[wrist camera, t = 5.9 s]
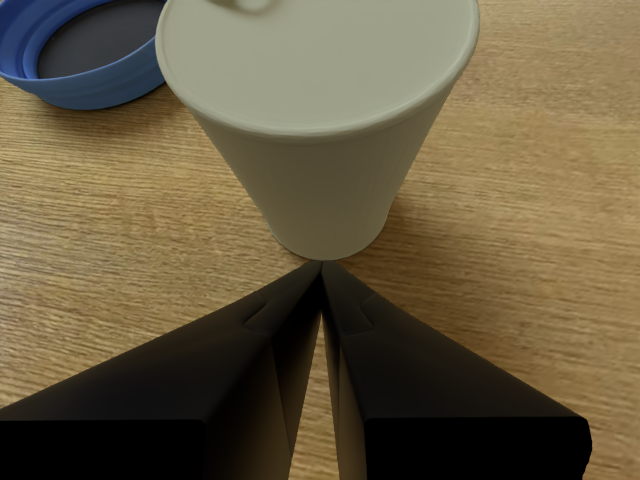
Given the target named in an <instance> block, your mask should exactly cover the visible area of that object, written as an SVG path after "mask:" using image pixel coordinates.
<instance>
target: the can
mask: <svg viewBox="0 0 640 480" xmlns="http://www.w3.org/2000/svg"><path fill="white" fill-rule="evenodd" d="M479 31H480V10H479V6H478V1H477V0H167V2H166V4H165V5H164V8H163V10H162V12H161V15H160V17H159V21H158V25H157V29H156V37H155V48H156V55H157V60H158V64H159V67H160V69H161V72H162V75H163V77H164V79H165V81H166V82H167V84H168V85H169V87H170V89H171V90H172V91H173V93H174V94H175V95H176V96H177V98H178V99H179V100H180V101H181V102H182V103H183V104H184V105H185V106H186V107H187V108H188V109H189V111H190V112H191V114H192V115H193V116H194V118H195V119H196V120H197V122H198V123H199V125H200V126H201V127H202V129H203V130H204V131H205V133H206V134H207V136H208V137H209V138H210V140H211V141H212V142H213V144H214V145H215V147H216V148H217V150H218V151H219V152H220V154H221V155H222V157H223V158H224V160H225V161H226V162H227V164H228V165H229V167H230V168H231V170H232V171H233V172H234V174H235V175H236V177H237V178H238V180H239V181H240V182H241V184H242V185H243V187H244V188H245V190H246V191H247V193H248V194H249V196H250V197H251V199H252V200H253V201H254V203H255V204H256V206H257V207H258V209H259V210H260V212H261V213H262V215H263V217H264V218H265V220H266V223H267V225H268V227H269V229H270V231H271V233H272V234H273V236H274V237H275V238H276V239H277V241H278V242H279V243H280V244H282V245H283V246H284V247H285V248H287V249H288V250H290V251H291V252H293V253H295V254H297V255H299V256H302V257H305V258H309V259H314V260H337V259H341V258H345V257H348V256H351V255H353V254H355V253H357V252H359V251H361V250H363V249H364V248H365V247H367V246H368V245H369V244H370V243H371V242H372V241H373V240H374V239H375V238H376V237H377V236H378V235H379V233H380V232H381V230H382V228H383V227H384V224H385V222H386V219H387V216H388V212H389V209H390V207H391V205H392V203H393V201H394V199H395V197H396V194H397V192H398V190H399V188H400V186H401V184H402V182H403V181H404V179H405V177H406V175H407V173H408V171H409V169H410V167H411V165H412V163H413V161H414V159H415V157H416V155H417V153H418V151H419V149H420V147H421V146H422V144H423V142H424V140H425V138H426V136H427V134H428V132H429V130H430V128H431V126H432V124H433V123H434V121H435V119H436V117H437V115H438V114H439V112H440V110H441V108H442V106H443V104H444V103H445V101H446V99H447V97H448V95H449V94H450V92H451V90H452V88H453V86H454V84H455V83H456V81H457V80H458V79H459V78H460V76H461V75H462V73H463V72H464V70H465V68H466V67H467V65H468V63H469V62H470V59H471V57H472V55H473V53H474V50H475V48H476V45H477V41H478V36H479Z"/></svg>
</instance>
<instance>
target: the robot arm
mask: <svg viewBox="0 0 640 480" xmlns="http://www.w3.org/2000/svg"><path fill="white" fill-rule="evenodd" d="M321 314H322V322H323V331H324V340H325V349H326V359H327V368H328V377H329V386H330V395H331V404H332V414H333V423H334V432H335V441H336V450H337V460H338V469H339V479H340V480H582V476H583V474H584V472H585V469H586V466H587V464H588V462H589V459H590V455H591V452H592V439H591V434H590V429H589V424H588V421H587V420H586V419H585V418H583V417H582V416H580V415H578V414H577V413H575V412H573V411H572V410H570V409H568V408H567V407H565V406H563V405H562V404H560V403H558V402H556V401H555V400H553V399H551V398H550V397H548V396H546V395H545V394H543V393H541V392H540V391H538V390H536V389H535V388H533V387H531V386H529V385H528V384H526V383H524V382H523V381H521V380H519V379H518V378H516V377H514V376H513V375H511V374H509V373H508V372H506V371H504V370H502V369H501V368H499V367H497V366H496V365H494V364H492V363H491V362H489V361H487V360H486V359H484V358H482V357H481V356H479V355H477V354H475V353H474V352H472V351H470V350H469V349H467V348H465V347H464V346H462V345H460V344H459V343H457V342H455V341H454V340H452V339H450V338H448V337H447V336H445V335H443V334H442V333H440V332H438V331H437V330H435V329H433V328H432V327H430V326H428V325H427V324H425V323H423V322H421V321H420V320H418V319H416V318H415V317H413V316H411V315H410V314H408V313H406V312H405V311H403V310H402V309H400V308H398V307H397V306H395V305H394V304H392V303H391V302H389V301H388V300H386V299H385V298H384V297H382V296H381V295H380V294H378V293H377V292H375V291H374V290H372V289H371V288H370V287H368V286H367V285H366V284H364V283H363V282H362V281H360V280H359V279H358V278H356V277H355V276H354V275H352V274H351V273H350V272H348V271H347V270H346V269H344V268H343V267H342V266H340V265H339V264H338V263H336V262H335V261H333V260H324V261H323V262H322V261H321V260H311V261H310V262H308V263H306V264H304V265H302V266H301V267H299V268H297V269H295V270H293V271H291V272H290V273H288V274H286V275H284V276H282V277H281V278H279V279H277V280H275V281H273V282H272V283H270V284H268V285H266V286H264V287H263V288H261V289H259V290H257V291H254V292H253V293H251V294H249V295H247V296H245V297H243V298H241V299H240V300H238V301H236V302H234V303H232V304H229V305H227V306H225V307H223V308H221V309H219V310H217V311H215V312H212V313H210V314H208V315H206V316H204V317H201V318H199V319H197V320H195V321H193V322H190V323H188V324H186V325H184V326H182V327H179V328H177V329H175V330H173V331H171V332H168V333H166V334H164V335H162V336H160V337H158V338H155V339H153V340H151V341H149V342H147V343H144V344H142V345H140V346H138V347H136V348H133V349H131V350H129V351H127V352H125V353H122V354H120V355H118V356H116V357H114V358H111V359H109V360H107V361H105V362H103V363H100V364H98V365H96V366H94V367H92V368H89V369H87V370H85V371H83V372H81V373H79V374H76V375H74V376H72V377H70V378H68V379H65V380H63V381H61V382H59V383H57V384H54V385H52V386H50V387H48V388H46V389H43V390H41V391H39V392H37V393H35V394H32V395H30V396H28V397H26V398H24V399H21V400H19V401H17V402H15V403H13V404H10V405H8V406H5V407H3V408H1V409H0V480H288V478H289V472H290V466H291V461H292V460H291V459H292V457H293V452H294V447H295V442H296V437H297V432H298V428H299V423H300V418H301V413H302V408H303V403H304V398H305V393H306V389H307V384H308V379H309V374H310V369H311V364H312V359H313V354H314V350H315V345H316V340H317V335H318V330H319V325H320V320H321Z"/></svg>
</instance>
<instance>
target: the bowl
mask: <svg viewBox="0 0 640 480" xmlns="http://www.w3.org/2000/svg"><path fill="white" fill-rule="evenodd" d="M166 2H167V0H3V1H2V2H1V3H0V76H1V77H2V78H4V79H5V80H6V81H8V82H9V83H11V84H13V85H15V86H17V87H19V88H21V89H22V90H24V91H27V92H29V93H32V94H35V95H37V96H38V97H40V98H41V99H42V100H44V101H46V102H47V103H49V104H52V105H55V106H58V107H62V108H66V109H74V110H93V109H102V108H107V107H112V106H116V105H119V104H122V103H126V102H129V101H131V100H134V99H136V98H138V97H140V96H143V95H145V94H146V93H148V92H150V91H152V90H153V89H155V88H156V87H158V86H160V85H161V84H162V83H164V82H165V79H164V77H163V75H162V72H161V69H160V67H159V64H158V60H157V55H156V48H155V37H156V29H157V25H158V21H159V17H160V15H161V12H162V10H163V8H164V5H165V4H166Z"/></svg>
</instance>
